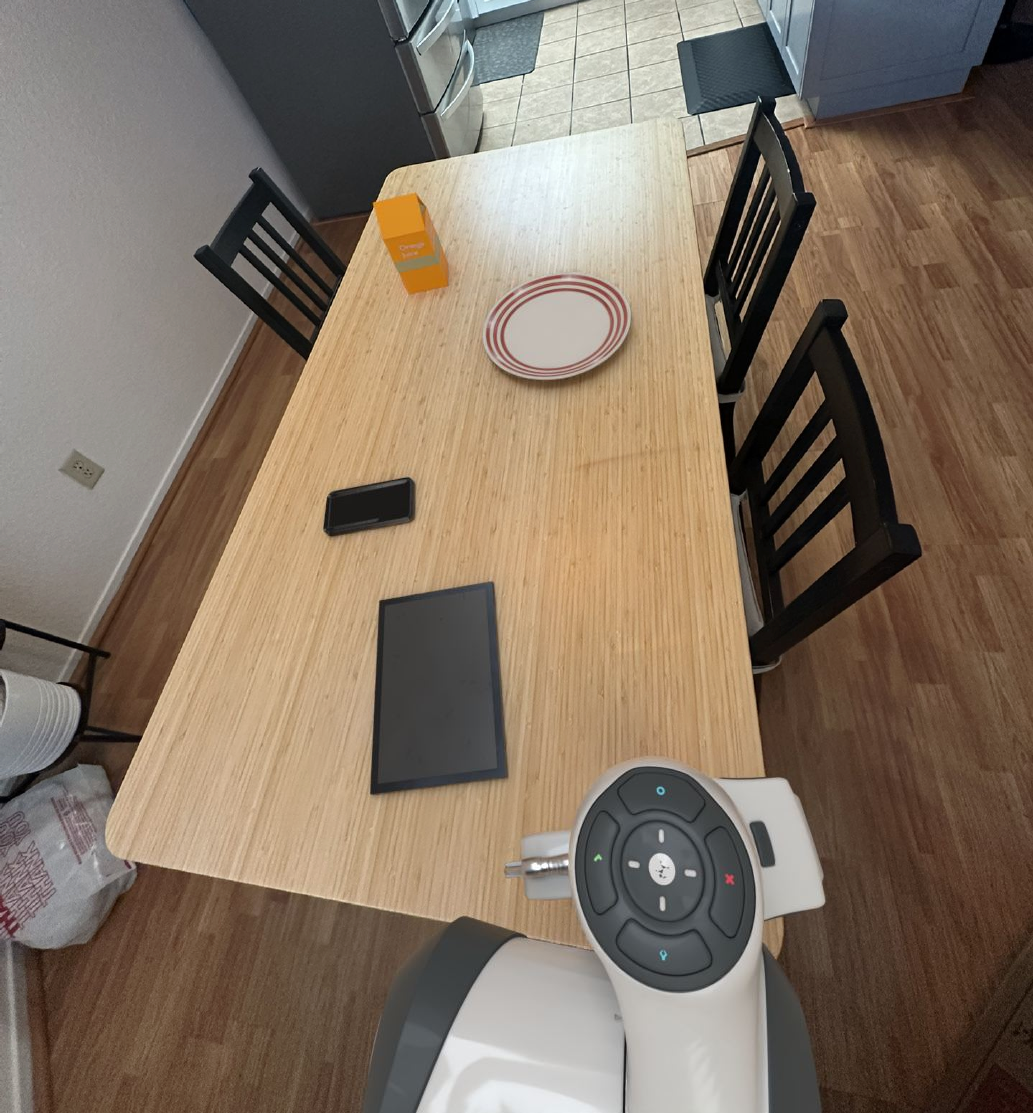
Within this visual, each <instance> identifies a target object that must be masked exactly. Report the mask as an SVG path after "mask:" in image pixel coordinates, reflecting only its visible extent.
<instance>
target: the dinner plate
mask: <svg viewBox="0 0 1033 1113" xmlns="http://www.w3.org/2000/svg"><path fill="white" fill-rule="evenodd" d="M631 321H632V313H631V307H630V303H629V301H628V300H627V297H626V296H625V294H624V293H623V292H622V291H621V289H619V288H618V287H617V286H616V285H614V284H613V283H611V282H610V281H608V280H606V279H605V278H602V277H600V276H597V275H594V274H589V273H584V272H574V271H563V272H553V273H548V274H544V275H540V276H537V277H534V278H531V279H528V280H526V281H524V282H522V283H520V284H519V285H516V286H515V287H513V288H511V289H510V290H509V291H508V292H506V293H505V294H503V295H502V296H501V297H500V298H499V299H498V300H497V301H496V303H494V305H493V306H492V307H491V309H490V310H489V312H488V314H487V316H486V318H485V320H484V323H483V327H482V333H481V334H482V343H483V347H484V350H485V352H486V354H487V356H488V357H489V358H490V360H491V361H492V362H493V363H494V364H495V365H496V366H497V367H498V368H500V369H501V370H503V371H505V372H507V373H508V374H510V375H514V376H516V377H519V378H523V379H528V380H536V381H537V380H538V381H553V380H562V379H567V378H571V377H575V376H578V375H581V374H583V373H586V372H588V371H590V370H592V369H594V368H596V367H597V366H599V365H601V364H603V363H604V362H605V361H607V360H608V359H609V358H610V357H611V356H612V355H613V354H614V353H615V352H617V350H618V349H619V348H620V347H621V346H622V344H623V343H624V341H625V339H626V338H627V335H628V333H629V330H630V327H631Z"/></svg>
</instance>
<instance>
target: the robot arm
mask: <svg viewBox="0 0 1033 1113" xmlns="http://www.w3.org/2000/svg"><path fill="white" fill-rule="evenodd" d="M811 832H812V831H811V829H810V826H809V822H808V820H807V816H806V814H805V810H804V807H803V805H802V802H801V799H800V797H799V796H798V795H797V794H795V792H794V791H793V789H792V786H791V785H790V783H789V781H788V779H786V778H784V777H780V776H777V777H767V776H756V777H755V776H753V777H725V776H724V777H713V776H709V775H707V774H706V773H705V772H703V771H701V770H699V769H698V768H696V767H694V766H692V765H690V764H688V763H686V762H684V761H681V760H679V759H675V758H672V757H668V756H662V755H643V756H637V757H633V758H630V759H626V760H623V761H620V762H619V763H615V764H614V765H611V766H610V767H608V768H607V769H606V770H604V771H603V772H601V773H600V774H599V775H598V776H597V777H596V779H595V780H594V781H593V782H592V783H591V784H590V786H589V787H588V789H587V790H586V792H585V793H584V794H583V797H582V798H581V801H580V803H579V805H578V807H577V809H576V812H575V815H574V817H573V823H572V826H571V828H564V829H555V830H548V831H547V830H545V831H539V832H532V833H528V834H525V835H522V837H521V838H520V840H519V846H520V860H519V859H518V860H513V861H507V862H505V863H504V868H503V873H504V874H505V879H514V878H522V885H523V886H522V887H523V894H524V897H525V898H526V899H527V900H529V901H539V902H545V901H546V902H547V901H560V900H572V903H573V907H574V910H575V913H576V916H577V919H578V922H579V924H580V926H581V929H582V931H583V933H584V935H585V937H586V939H587V941H588V943H589V945H590V946H591V948H592V949H593V950H590V949H584V948H580V947H574V946H571V945H570V946H569V945H564V944H558V943H554V942H549V941H543V940H537V939H532V938H530V937H529V936H527V935H526V934H524V933H522V932H519V931H517V930H516V931H515V930H513V929H509V928H506V927H502V926H500V925H497V924H494V923H490V922H487V921H483V920H481V919H478V918H475V917H471V916H467V915H462V916H459V917H457V918H456V919H454V920H453V921H451V922H450V923H448V924H446V925H445V926H444V927H442V928H441V929H440V930H438V931H437V932H436V933H434V934H433V935H432V936H430V937H429V938H428V939H427V940H426V941H425V942H423V943H422V944H421V945H420V946H419V947H418V948H416V949H415V950H414V951H413V952H412V954H410V955H409V956H408V958H406V959H405V961H404V962H403V963H402V964H401V965H400V966H399V967H398V969H397V971H396V973H395V974H394V976H393V979H392V981H391V984H390V985H389V989H388V991H387V994H386V998H385V1002H384V1005H383V1008H382V1011H381V1014H380V1017H379V1021H378V1025H377V1028H376V1031H375V1037H374V1041H373V1046H372V1051H371V1055H370V1056H371V1057H370V1060H369V1069H368V1072H367V1079H366V1085H365V1089H364V1090H365V1091H364V1096H363V1102H362V1107H361V1112H360V1113H823V1109H822V1108H823V1107H822V1101H821V1094H820V1089H819V1081H818V1075H817V1070H816V1069H817V1068H816V1065H815V1059H814V1054H813V1048H812V1044H811V1038H810V1034H809V1029H808V1025H807V1021H806V1017H805V1014H804V1010H803V1006H802V1004H801V1000H800V998H799V996H798V993H797V992H796V990H795V989H794V987H793V985H792V983H791V981H790V980H789V977H788V976H787V975H786V973H785V972H784V970H783V968H782V966H781V965H780V963H779V962H778V960H777V959H776V957H775V955H774V954H773V953H772V951H771V950H770V949H769V947H768V946H767V945H766V944H765V943H764V941H763V940H764V927H765V922H768V921H772V920H775V919H778V918H779V919H780V918H782V917H787V916H788V917H789V916H792V915H796V914H803V913H805V912H807V911H808V910H815V909H819V908H821V907H823V906H824V905H825V904H826V895H825V890H824V886H823V881H824V876H825V874H824V871H823V868H822V864H821V861H820V857H819V854H818V851H817V848H816V844H815V841H814V838H813V834H812V833H811Z"/></svg>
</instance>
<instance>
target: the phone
mask: <svg viewBox="0 0 1033 1113" xmlns="http://www.w3.org/2000/svg"><path fill="white" fill-rule="evenodd" d="M415 515H416V483H415V481H414V479H413V478H412V477H409V476H405V477H399V478H394V479H389V480H384V481H379V482H374V483H368V484H364V485H358V486H352V487H346V488H342V489H337V490H333V491H330V492H329V493H328V494H327V496H326V500H325V510H324V518H323V527H322V530H323V532H324V533H325V534H326V535H327V536H328V537H336V536H340V535H347V534H352V533H358V532H363V531H369V530H374V529H379V528H385V527H392V526H396V525H402V524H407V523H411V522H412V521H413V520H414V518H415Z"/></svg>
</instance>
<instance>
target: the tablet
mask: <svg viewBox="0 0 1033 1113" xmlns="http://www.w3.org/2000/svg"><path fill="white" fill-rule="evenodd" d="M495 592H496V591H495V583H494V582H493V581H486V582H480V583H474V584H473V583H472V584H467V585H462V586H456V587H450V588H444V589H438V590H432V591H426V592H420V593H414V594H409V595H403V596H397V597H391V598H384V599H379V601H378V616H377V618H378V619H377V639H376V656H375V657H376V659H375V660H376V661H375V678H374V679H375V680H374V702H373V704H374V705H373V722H372V723H373V724H372V743H371V744H372V745H371V765H370V785H369V786H370V787H369V795H370V796H377V795H385V794H392V793H400V792H407V791H417V790H421V789H422V790H423V789H431V788H438V787H445V786H446V787H447V786H453V785H454V786H455V785H462V784H469V783H470V784H471V783H476V782H486V781H491V780H492V781H493V780H500V779H507V778H508V777H509V772H508V759H507V758H508V757H507V746H506V744H507V743H506V732H505V730H506V729H505V717H504V716H505V715H504V702H503V689H502V677H501V676H502V674H501V663H500V662H501V661H500V647H499V634H498V622H497V621H498V619H497V607H496V593H495Z"/></svg>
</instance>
